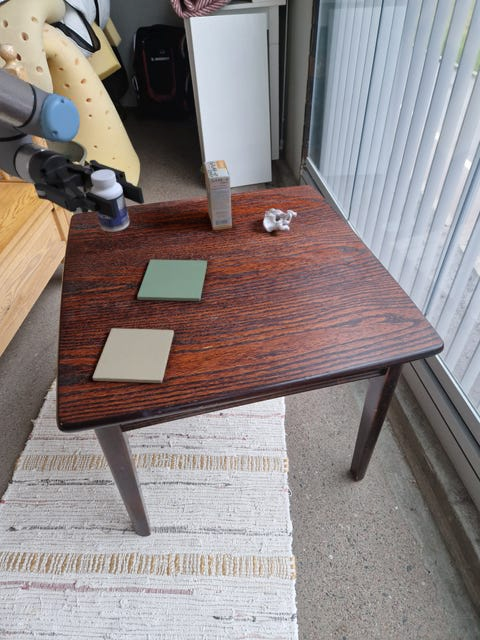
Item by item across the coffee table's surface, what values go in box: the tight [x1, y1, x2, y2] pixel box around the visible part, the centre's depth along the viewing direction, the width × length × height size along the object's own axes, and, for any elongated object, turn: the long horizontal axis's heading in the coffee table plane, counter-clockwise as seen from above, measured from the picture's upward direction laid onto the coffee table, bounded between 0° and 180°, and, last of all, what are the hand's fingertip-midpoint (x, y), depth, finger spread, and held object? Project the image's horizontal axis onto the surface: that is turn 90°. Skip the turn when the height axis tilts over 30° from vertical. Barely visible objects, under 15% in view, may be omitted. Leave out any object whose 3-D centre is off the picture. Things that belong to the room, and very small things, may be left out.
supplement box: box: [203, 159, 233, 231], centre depth 96 cm, size 8×5×13 cm, turn 11°
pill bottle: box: [90, 170, 130, 233], centre depth 74 cm, size 5×5×10 cm
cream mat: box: [92, 327, 175, 384], centre depth 70 cm, size 11×11×1 cm
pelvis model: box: [262, 207, 298, 233], centre depth 97 cm, size 8×4×7 cm
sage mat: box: [136, 259, 208, 302], centre depth 84 cm, size 12×12×1 cm
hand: (127, 203), depth 71 cm, fingers closed on pill bottle, 5 cm apart
